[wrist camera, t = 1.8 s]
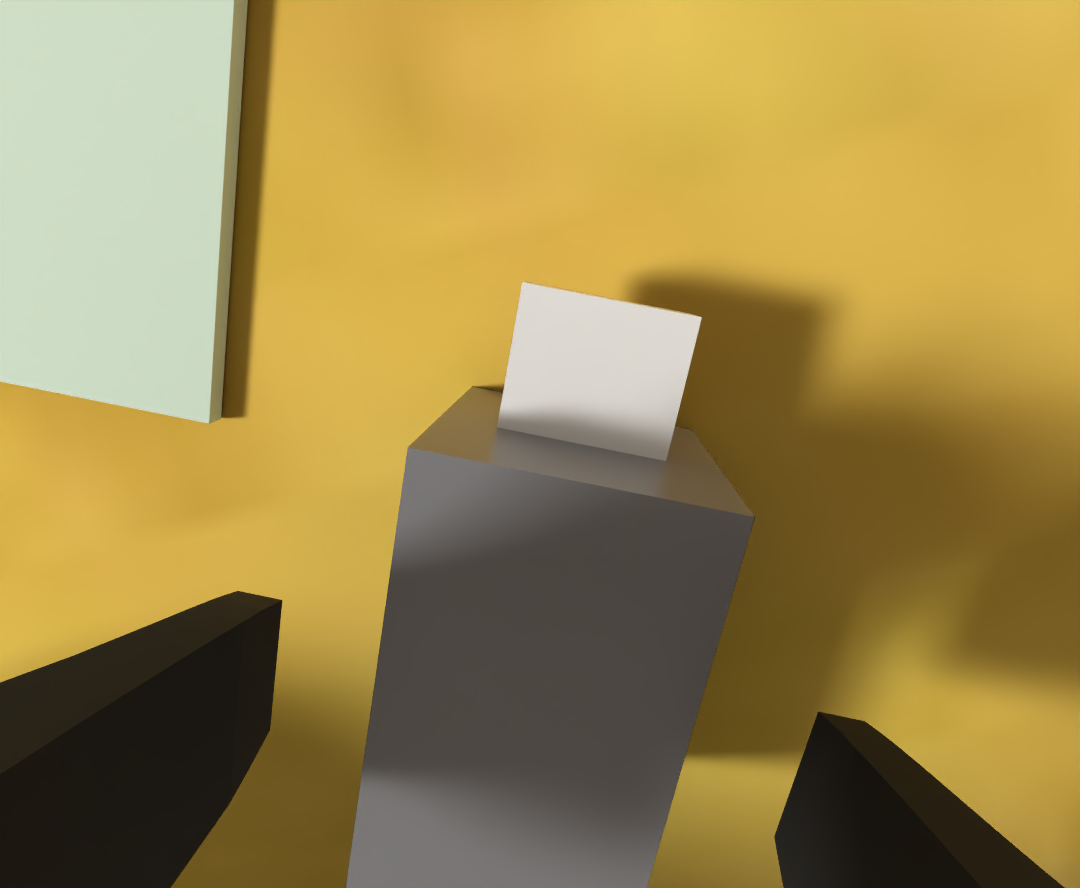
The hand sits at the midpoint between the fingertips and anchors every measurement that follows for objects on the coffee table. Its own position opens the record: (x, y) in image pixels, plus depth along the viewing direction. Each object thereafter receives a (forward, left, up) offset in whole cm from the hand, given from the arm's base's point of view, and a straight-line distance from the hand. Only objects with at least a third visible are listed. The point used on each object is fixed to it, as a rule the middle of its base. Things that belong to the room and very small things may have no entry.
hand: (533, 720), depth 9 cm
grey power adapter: (0, 0, -4) cm, 4 cm away
